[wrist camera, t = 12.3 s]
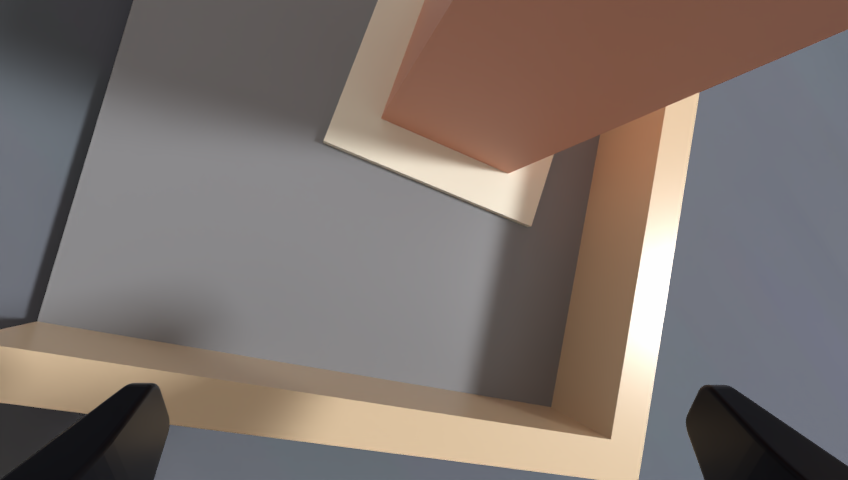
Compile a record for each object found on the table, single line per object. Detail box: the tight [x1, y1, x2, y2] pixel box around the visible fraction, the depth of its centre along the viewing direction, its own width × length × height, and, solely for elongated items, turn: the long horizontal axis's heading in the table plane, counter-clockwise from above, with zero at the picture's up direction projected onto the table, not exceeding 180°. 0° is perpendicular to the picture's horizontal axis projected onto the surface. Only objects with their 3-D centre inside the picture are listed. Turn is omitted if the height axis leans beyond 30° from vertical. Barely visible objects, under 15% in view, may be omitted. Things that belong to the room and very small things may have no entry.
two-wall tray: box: [0, 0, 699, 480], centre depth 16 cm, size 18×18×4 cm
